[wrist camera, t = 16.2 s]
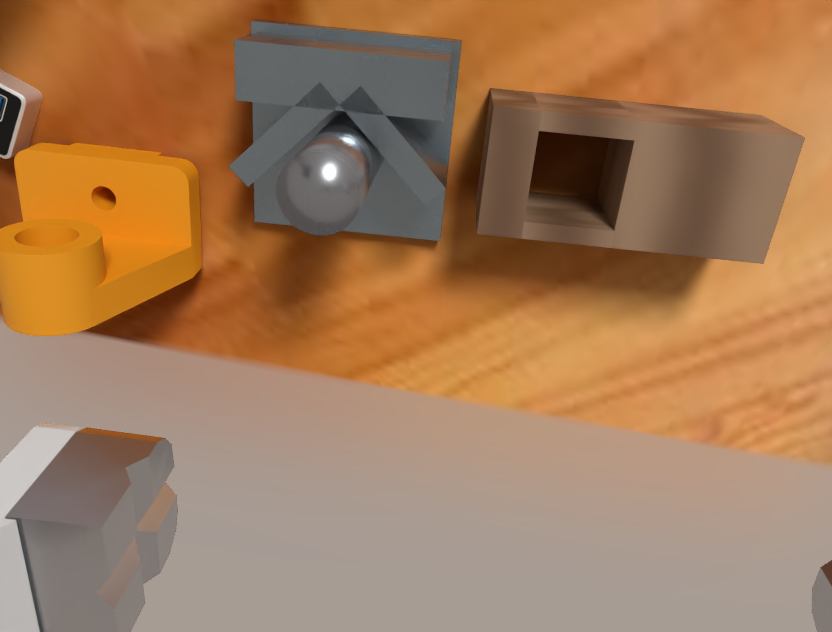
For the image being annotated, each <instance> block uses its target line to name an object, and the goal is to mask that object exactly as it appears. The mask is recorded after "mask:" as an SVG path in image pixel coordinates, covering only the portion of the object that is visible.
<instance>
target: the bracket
mask: <svg viewBox="0 0 832 632" xmlns="http://www.w3.org/2000/svg"><path fill="white" fill-rule="evenodd" d="M14 166H15V172H16V178H17V185H18V191H19V197H20V204H21V210H22V216H23V222H19V223H15V224H12V225H9V226H6V227H3V228H1V229H0V301H1V306H2V312H3V317H4V322H5V324H6V325H7V326H8V327H9V328H10V329H12V330H14V331H16V332H19V333H22V334H27V335H34V336H57V335H66V334H71V333H76V332H80V331H83V330H86V329H89V328H91V327H93V326H95V325H97V324H100V323H102V322H104V321H106V320H108V319H110V318H112V317H114V316H116V315H118V314H120V313H122V312H124V311H126V310H128V309H130V308H132V307H134V306H136V305H138V304H140V303H142V302H144V301H146V300H149V299H151V298H153V297H155V296H157V295H159V294H161V293H163V292H165V291H167V290H169V289H171V288H173V287H175V286H177V285H179V284H181V283H183V282H185V281H187V280H189V279H191V278H193V277H194V276H195V275H196V274H197V272H198V271H199V270H200V269H201V268H202V243H201V218H200V193H199V174H198V171H197V169H196V167H195V166H194V164H193V163H191V162H190V161H188V160H186V159H182V158H173V157H165V156H162V153H160V152H151V151H143V150H134V149H125V148H117V147H108V146H99V145H90V144H82V143H74V144H72V145H60V144H51V143H38V144H36V145H34V146H31V147H29V148H26V149H24V150H22V151H20V152H18V153H17V154H16V156H15V159H14Z"/></svg>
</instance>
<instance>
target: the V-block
mask: <svg viewBox="0 0 832 632" xmlns="http://www.w3.org/2000/svg"><path fill="white" fill-rule="evenodd" d="M461 42H462V40H456V39H446V38H436V37H426V36H416V35H405V34H395V33H385V32H375V31H365V30H355V29H345V28H334V27H324V26H314V25H304V24H294V23H284V22H274V21H263V20H253V21H251V34H250V35H247V36H244V37H241V38H238V39H235V40H234V52H235V89H236V100H238V101H248V102H252V105H253V144H252V145H251V146H250V147H249V148H248V149H247V150H246V151H245V152H243V153H242V154H241V155H240V156H239V157H238V158H237V159H236V160H235V161H234V162H233V163H232V164H230V165H229V167H230V168H231V169H232V171H233V172H234V173H235V174H236V175H237V176H238V177H239V178H240V179H241V180H242V181H243V182H244V183H245V184H246V185H247V186H248V187H249V186H250V185H251V184H252V183H253V182H254V222H262V223H272V224H281V225H291V226H293V225H292V224H291V223H290V222H289V221H288V220H287V219H286V217H285V216H284V215H283V213H282V212H281V210H280V207H279V205H278V202H277V197H276V184H277V179H278V176H279V174H280V172H281V170H282V169H283V167H284V166H285V165H286V164H287V163H288V162H289V161H290V160H291V159H292V158H293V157H294V156H295V155H296V154H297V153H298V152H299V151H300V150H301V149H302V148H303V147H304V146H305V145H306V144H307V143H308V142H309V141H310V140H311V139H312V138H313V137H314V136H315V135H316V134H317V133H318V132H319V131H320V130H321V129H322V128H324V127H325V126H326V125H327V124H328V123H329V122H330V121H331V120H332V119H333V118H334V117H336V116H338V115H340V114H343V113H347V114H348V115H349V117H350V118H351V119H352V120H353V121H354V122H355V124H356V125H357V126H358V127H359V128H360V130H361V131H362V132H363V133H364V134H365V135H366V137H367V138H368V139H369V140H370V141H371V142H372V144H373V145H374V146H375V147H376V148H377V150H378V151H379V152H380V153H381V154H382V155H383V157H384V160H383V162H382V164H381V166H380V168H379V171H378V173H377V175H376V177H375V179H374V181H373V183H372V185H371V187H370V189H369V191H368V193H367V195H366V197H365V199H364V201H363V203H362V205H361V207H360V209H359V211H358V213H357V215H356V217H355V218H354V220H353V221H352V222H351V224H349V225H348V226H347V227H346V228H345V229H343V230H341V231H349V232H358V233H368V234H377V235H387V236H397V237H406V238H416V239H425V240H435V241H440V237H441V227H442V218H443V209H444V200H445V190H446V184H447V173H448V162H449V153H450V144H451V135H452V125H453V116H454V107H455V97H456V88H457V79H458V70H459V60H460V51H461Z"/></svg>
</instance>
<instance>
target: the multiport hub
mask: <svg viewBox="0 0 832 632" xmlns="http://www.w3.org/2000/svg"><path fill="white" fill-rule="evenodd" d="M42 100H43V96H42V93H41V92H40V91H39V90H38V89H36V88H34V87H32V86H30V85H29V84H27V83H25V82H23V81H21V80H19V79H17V78H15V77H14V76H12V75H10V74H8V73H6V72H4V71H2V70H0V157H1V158H4V159H8V158H11V157H13V156H16V154H17V153H18V152H20V151H22V150H24V149H26V148H28V147H29V144H30V140H31V137H32V134H33V130H34V127H35V124H36V120H37V117H38V114H39V110H40V107H41V104H42Z"/></svg>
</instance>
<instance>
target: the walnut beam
mask: <svg viewBox="0 0 832 632" xmlns="http://www.w3.org/2000/svg"><path fill="white" fill-rule="evenodd" d="M539 131H545V132H555V133H565V134H575V135H585V136H595V137H605V138H609V142H608V147H607V152H606V157H605V162H604V166H603V171H602V176H601V181H600V186H599V191H598V195H597V199H593V198H583V197H573V196H563V195H554V194H544V193H534V192H529V189H530V182H531V176H532V170H533V164H534V158H535V152H536V145H537V139H538V133H539ZM804 139H805V137H803V136H801V135H799V134H797V133H795V132H793V131H791V130H789V129H787V128H785V127H783V126H781V125H779V124H777V123H776V122H774V121H772V120H770V119H768V118H766V117H764V116H762V115H753V114H743V113H733V112H723V111H713V110H703V109H693V108H683V107H673V106H663V105H653V104H643V103H633V102H623V101H613V100H603V99H593V98H583V97H573V96H563V95H553V94H543V93H533V92H523V91H513V90H503V89H493V88H490V95H489V103H488V111H487V119H486V127H485V134H484V142H483V150H482V158H481V166H480V173H479V181H478V189H477V197H476V222H477V234H481V235H490V236H500V237H510V238H519V239H529V240H539V241H548V242H558V243H567V244H577V245H587V246H596V247H606V248H616V249H625V250H635V251H644V252H654V253H664V254H673V255H683V256H692V257H702V258H712V259H721V260H731V261H741V262H750V263H760V264H763V263H764V260H765V257H766V254H767V251H768V248H769V245H770V242H771V239H772V236H773V233H774V230H775V227H776V224H777V221H778V218H779V215H780V212H781V209H782V206H783V203H784V200H785V197H786V194H787V191H788V188H789V185H790V182H791V179H792V176H793V173H794V170H795V167H796V164H797V160H798V157H799V154H800V151H801V148H802V145H803V142H804Z"/></svg>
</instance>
